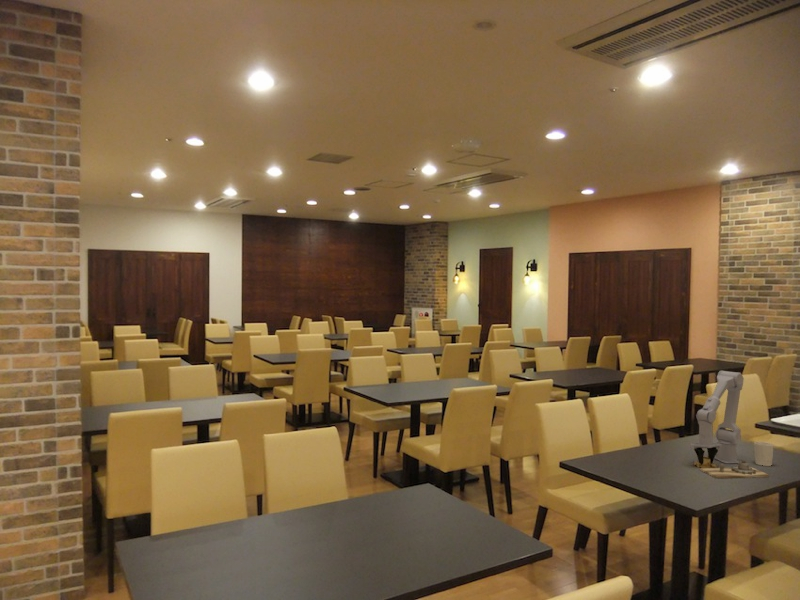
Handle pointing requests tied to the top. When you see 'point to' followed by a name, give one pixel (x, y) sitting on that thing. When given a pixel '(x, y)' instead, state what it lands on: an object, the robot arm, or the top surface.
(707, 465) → the brass gear
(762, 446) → the white cup
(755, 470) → the gear board
